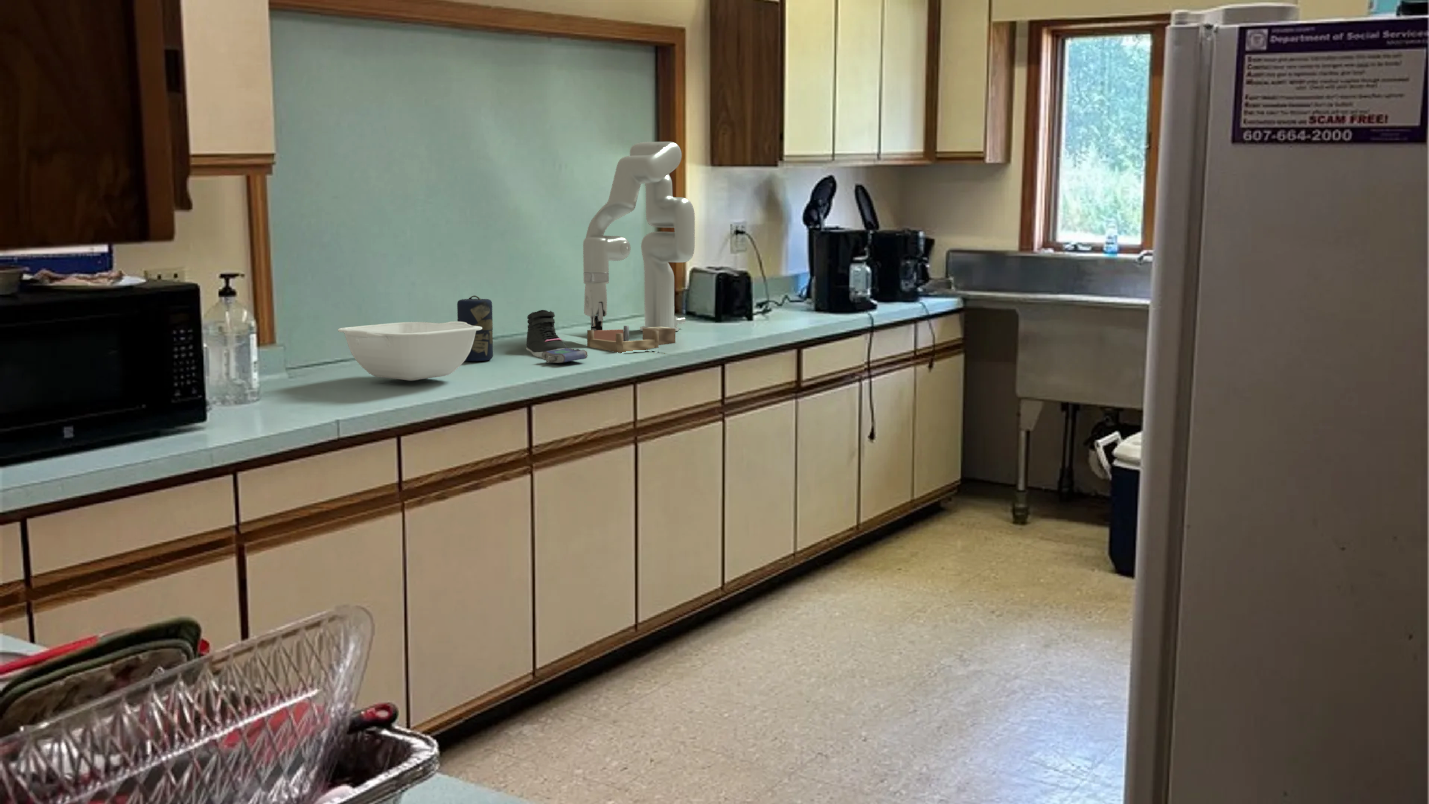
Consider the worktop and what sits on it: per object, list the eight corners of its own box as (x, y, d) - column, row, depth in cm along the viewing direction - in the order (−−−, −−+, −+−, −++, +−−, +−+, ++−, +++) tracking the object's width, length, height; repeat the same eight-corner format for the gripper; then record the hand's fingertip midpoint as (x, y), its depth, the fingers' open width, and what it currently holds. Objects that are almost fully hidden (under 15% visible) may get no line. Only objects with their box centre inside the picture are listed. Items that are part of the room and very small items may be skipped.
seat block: (660, 346, 420) (660, 326, 419) (675, 348, 415) (675, 327, 414) (642, 348, 415) (642, 327, 414) (657, 349, 410) (657, 328, 409)
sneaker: (546, 361, 379) (545, 314, 377) (515, 352, 402) (514, 308, 400) (578, 359, 383) (578, 313, 381) (546, 350, 406) (545, 307, 404)
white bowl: (422, 366, 365) (421, 318, 363) (501, 374, 349) (500, 324, 347) (319, 379, 337) (317, 327, 335) (400, 388, 321) (398, 334, 319)
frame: (626, 347, 416) (626, 327, 415) (659, 351, 405) (659, 330, 404) (586, 350, 406) (585, 330, 405) (618, 354, 395) (618, 333, 394)
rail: (627, 346, 416) (627, 325, 415) (629, 347, 415) (629, 326, 414) (589, 348, 410) (589, 327, 410) (591, 348, 409) (591, 327, 408)
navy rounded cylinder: (464, 363, 371) (462, 297, 369) (453, 360, 380) (452, 294, 377) (498, 361, 376) (496, 296, 373) (487, 358, 384) (485, 294, 382)
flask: (587, 350, 374) (558, 355, 366) (588, 360, 375) (558, 366, 367) (565, 346, 380) (535, 352, 373) (565, 357, 381) (536, 362, 373)
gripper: (577, 277, 416) (578, 337, 419) (590, 280, 403) (590, 342, 405) (601, 277, 419) (602, 336, 422) (614, 279, 405) (615, 341, 408)
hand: (596, 339), depth 413 cm, fingers closed
